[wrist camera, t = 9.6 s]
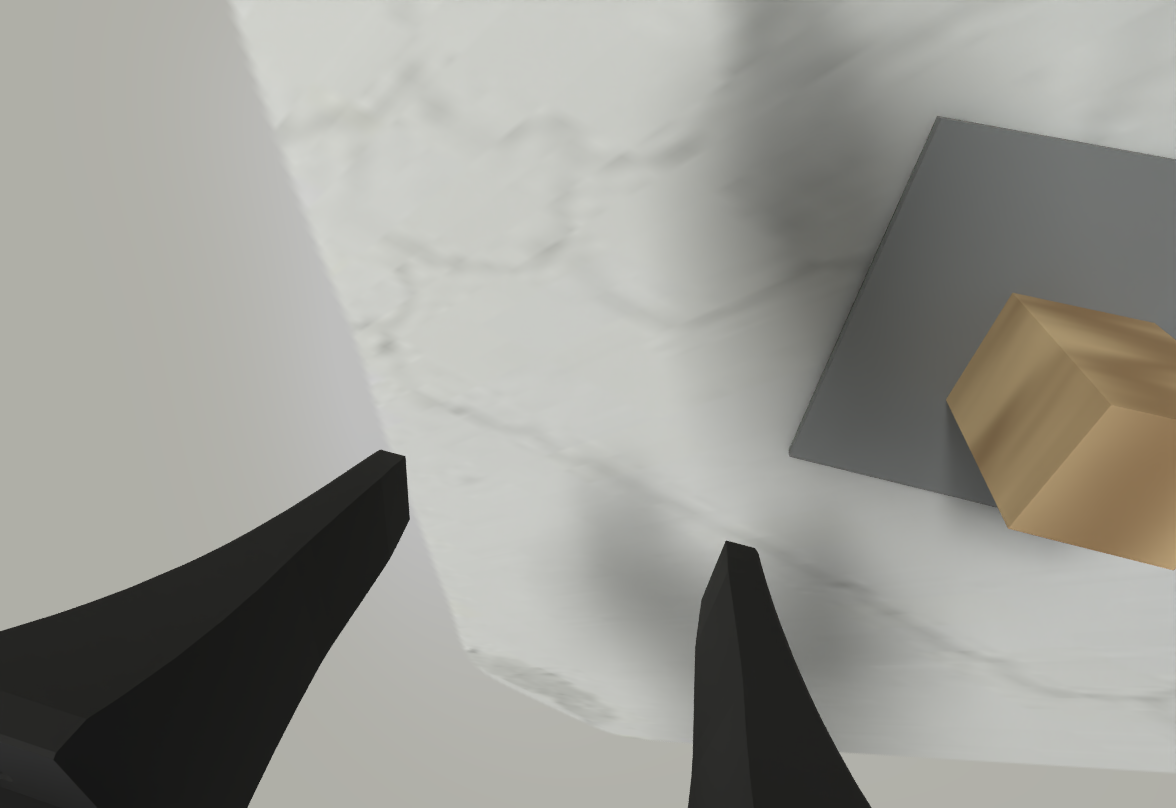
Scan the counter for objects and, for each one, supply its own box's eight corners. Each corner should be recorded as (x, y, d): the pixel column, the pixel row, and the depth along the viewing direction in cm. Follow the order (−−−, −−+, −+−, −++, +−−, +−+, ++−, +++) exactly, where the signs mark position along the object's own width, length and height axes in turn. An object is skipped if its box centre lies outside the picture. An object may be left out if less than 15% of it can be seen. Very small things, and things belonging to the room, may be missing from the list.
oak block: (1154, 323, 17) (1311, 450, 12) (1069, 428, 20) (1173, 570, 15) (1012, 292, 18) (1111, 404, 13) (945, 399, 20) (1007, 528, 15)
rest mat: (1432, 206, 15) (1447, 211, 14) (1113, 529, 22) (1119, 537, 21) (937, 116, 16) (941, 118, 16) (788, 449, 23) (789, 456, 23)
